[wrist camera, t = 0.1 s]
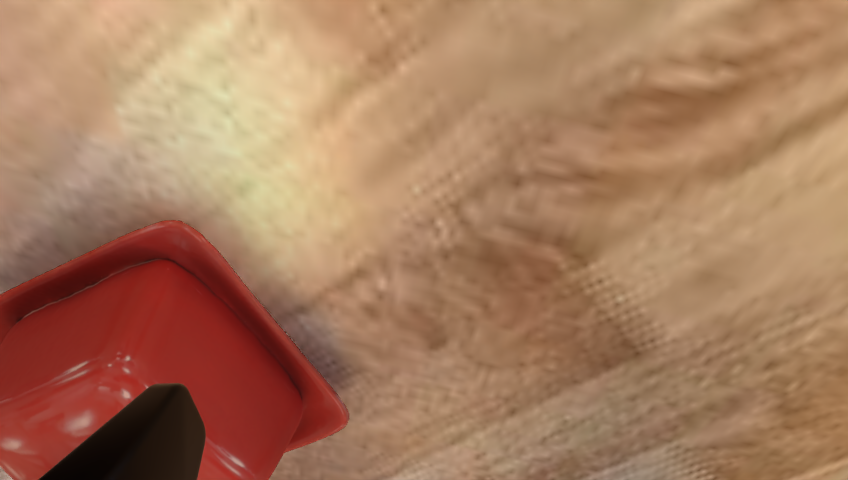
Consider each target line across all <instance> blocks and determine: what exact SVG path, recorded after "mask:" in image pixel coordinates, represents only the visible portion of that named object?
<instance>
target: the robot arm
mask: <svg viewBox="0 0 848 480" xmlns="http://www.w3.org/2000/svg"><path fill="white" fill-rule="evenodd" d="M205 439H206V431H205V426H204V422H203V420H202V418H201V416H200V414H199V412H198V409H197V407H196V405H195V403H194V401H193V399H192V397H191V394H190V392H189V390H188V389H187V387H186V386H184V385H183V384H180V383H161V384H154V385H151V386H150V387H148V388H147V389H146V390H144V391H143V392H142V393H141V394H140V395H138V396H137V397H136V398H135V399H134V400H133V401H131V402H130V403H129V404H128V405H127V406H125V407H124V408H123V409H122V410H121V411H119V412H118V413H117V414H116V415H115V416H113V417H112V418H111V419H110V420H109V421H107V422H106V423H105V424H104V425H103V426H101V427H100V428H99V429H98V430H97V431H96V432H94V433H93V434H92V435H91V436H90V437H88V438H87V439H86V440H85V441H84V442H82V443H81V444H80V445H79V446H78V447H76V448H75V449H74V450H73V451H72V452H70V453H69V454H68V455H67V456H66V457H64V458H63V459H62V460H61V461H60V462H58V463H57V464H56V465H55V466H54V467H53V468H51V469H50V470H49V471H48V472H47V473H45V474H44V475H43V476H42V477H41V478H39V479H38V480H197V478H198V473H199V469H200V464H201V460H202V455H203V450H204V446H205Z"/></svg>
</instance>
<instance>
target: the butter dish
mask: <svg viewBox="0 0 848 480" xmlns="http://www.w3.org/2000/svg"><path fill="white" fill-rule="evenodd" d="M161 383H180V384H183V385H184V386H186V387H187V389H188V390H189V392H190V394H191V397H192V399H193V401H194V403H195V405H196V407H197V409H198V412H199V414H200V416H201V418H202V420H203V422H204V426H205V431H206V439H205V446H204V450H203V455H202V460H201V464H200V469H199V473H198V478H197V480H268V479H269V478H270V476H271V475H272V473H273V471H274V470H275V468H276V466H277V464H278V463H279V461H280V459H281V457H282V456H283V454H284V453H285V452H288V451H291V450H294V449H296V448H299V447H302V446H305V445H307V444H310V443H313V442H316V441H317V440H321V439H323V438H325V437H327V436H330V435H333V434H334V433H336V432H338V431H340V430H341V429H343V428H344V427H345V426H346V425H347V423H348V421H349V412H348V410H347V408H346V406H345V404H344V403H343V402H342V400H341V399H340V397H339V396H338V395H337V393H336V392H335V391H334V390H333V389H332V387H331V386H330V385H329V384H328V382H327V381H326V380H325V379H324V378H323V377H322V376H321V374H320V373H319V372H318V371H317V370H316V369H315V367H314V366H313V365H312V364H311V363H310V362H309V361H308V359H307V358H306V357H305V356H304V355H303V353H302V352H301V351H300V350H299V349H298V348H297V346H296V345H295V344H294V343H293V342H292V340H291V339H290V338H289V337H288V336H287V335H286V333H285V332H284V331H283V330H282V328H281V327H280V326H279V325H278V324H277V323H276V322H275V320H274V319H273V318H272V317H271V315H270V314H269V313H268V312H267V311H266V310H265V308H264V307H263V306H262V305H261V304H260V302H259V301H258V300H257V299H256V298H255V297H254V295H253V294H252V293H251V292H250V291H249V289H248V288H247V287H246V285H245V284H244V283H243V282H242V281H241V279H240V278H239V276H238V275H237V274H236V273H235V272H234V270H233V269H232V268H231V267H230V265H229V264H228V263H227V261H226V260H225V259H224V258H223V257H222V256H221V254H220V253H219V252H218V250H217V249H216V248H215V247H214V246H212V245H211V244H210V242H208V241H207V240H206V239H205V237H204V236H203V235H202V234H200V233H199V232H198V231H197V230H195V229H194V228H192V227H191V226H189V225H187V224H185V223H183V222H182V221H175V220H169V221H161V222H158V223H155V224H152V225H149V226H146V227H144V228H142V229H138V230H135V231H133V232H131V233H128V234H126V235H124V236H121V237H119V238H117V239H116V240H113V241H111V242H109V243H107V244H105V245H103V246H100V247H98V248H96V249H94V250H92V251H90V252H88V253H86V254H84V255H82V256H80V257H77V258H75V259H73V260H70V261H69V262H67V263H65V264H63V265H60V266H58V267H57V268H55V269H52V270H51V271H48V272H45V273H44V274H42V275H39V276H37V277H35V278H33V279H31V280H29V281H27V282H25V283H22V284H21V285H19V286H17V287H15V288H13V289H10V290H8V291H6V292H4V293H3V294H1V295H0V467H1V468H2V469H3V470H4V471H5V472H6V473H7V474H8V475H9V476H10V477H12V478H13V480H38V479H39V478H41V477H42V476H43V475H44V474H45V473H47V472H48V471H49V470H50V469H51V468H53V467H54V466H55V465H56V464H57V463H58V462H60V461H61V460H62V459H63V458H64V457H66V456H67V455H68V454H69V453H70V452H72V451H73V450H74V449H75V448H76V447H78V446H79V445H80V444H81V443H82V442H84V441H85V440H86V439H87V438H88V437H90V436H91V435H92V434H93V433H94V432H96V431H97V430H98V429H99V428H100V427H101V426H103V425H104V424H105V423H106V422H107V421H109V420H110V419H111V418H112V417H113V416H115V415H116V414H117V413H118V412H119V411H121V410H122V409H123V408H124V407H125V406H127V405H128V404H129V403H130V402H131V401H133V400H134V399H135V398H136V397H137V396H138V395H140V394H141V393H142V392H143V391H144V390H146V389H147V388H148V387H150V386H151V385H154V384H161Z"/></svg>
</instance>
